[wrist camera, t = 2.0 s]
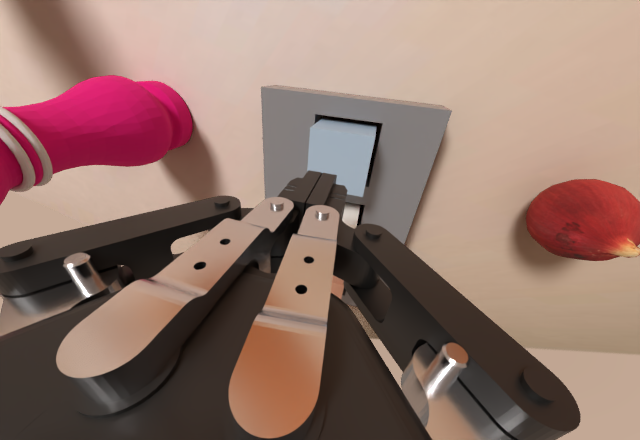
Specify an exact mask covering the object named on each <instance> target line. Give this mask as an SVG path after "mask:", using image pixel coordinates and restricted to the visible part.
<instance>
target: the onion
mask: <svg viewBox="0 0 640 440" xmlns="http://www.w3.org/2000/svg"><path fill="white" fill-rule="evenodd" d="M526 222H527V229H528V231H529V233H530V235H531V237H532V238H533V239H535V240H536V241H537V242H538V243H539V244H540V245H541V246H542V247H544V248H545V249H546V250H548V251H549V252H551V253H553V254H556V255H558V256H562V257H567V258H573V259H581V260H589V261H604V260H610V259H613V258H616V257H620V256H623V257H628V258H629V257H637V256H639V255H640V248H638V247H637V246H638V245H639V244H640V202H639V201H638V200H637V199H636V198H635V197H634V196H633V195H632V194H631V193H630V192H629V191H627V190H626V189H625V188H623V187H620V186H617V185H614V184H611V183H608V182H605V181H601V180H597V179H578V180H571V181H567V182H563V183H560V184H556V185H553V186H551V187H549V188H547V189H546V190H544V191H542V192H541V193H539V195H538V196H537V197H536V198H535V199H534V200H533V201H532V202H531V204H530V206H529V209H528V211H527V215H526Z"/></svg>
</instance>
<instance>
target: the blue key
mask: <svg viewBox="0 0 640 440" xmlns="http://www.w3.org/2000/svg"><path fill="white" fill-rule="evenodd" d="M376 127H377V126H375V125H367V124H360V123H353V122H346V121H339V120H331V119H324V118H322V119H321V120H319V121H318V122H317V123H316V124H314V125H313V126H312V127H310V137H309V152H308V167H307V171H308V170H310V171H316V172H322V173H328V174H334V175H337V179H336V184H338V185H344V186H345V187H346V189H347V190H348V191H347V194H348V195H354V196H359V197H363V194H364V189H365V184H366V179H367V175H368V170H369V165H370V160H371V156H372V151H373V146H374V141H375V136H376Z"/></svg>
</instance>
